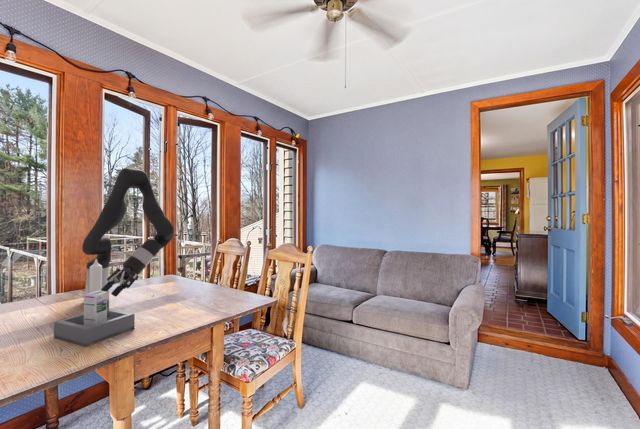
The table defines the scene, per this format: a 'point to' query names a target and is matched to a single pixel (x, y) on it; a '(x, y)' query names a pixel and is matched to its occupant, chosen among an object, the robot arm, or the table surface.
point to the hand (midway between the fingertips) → (108, 293)
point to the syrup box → (96, 307)
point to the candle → (95, 277)
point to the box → (93, 328)
